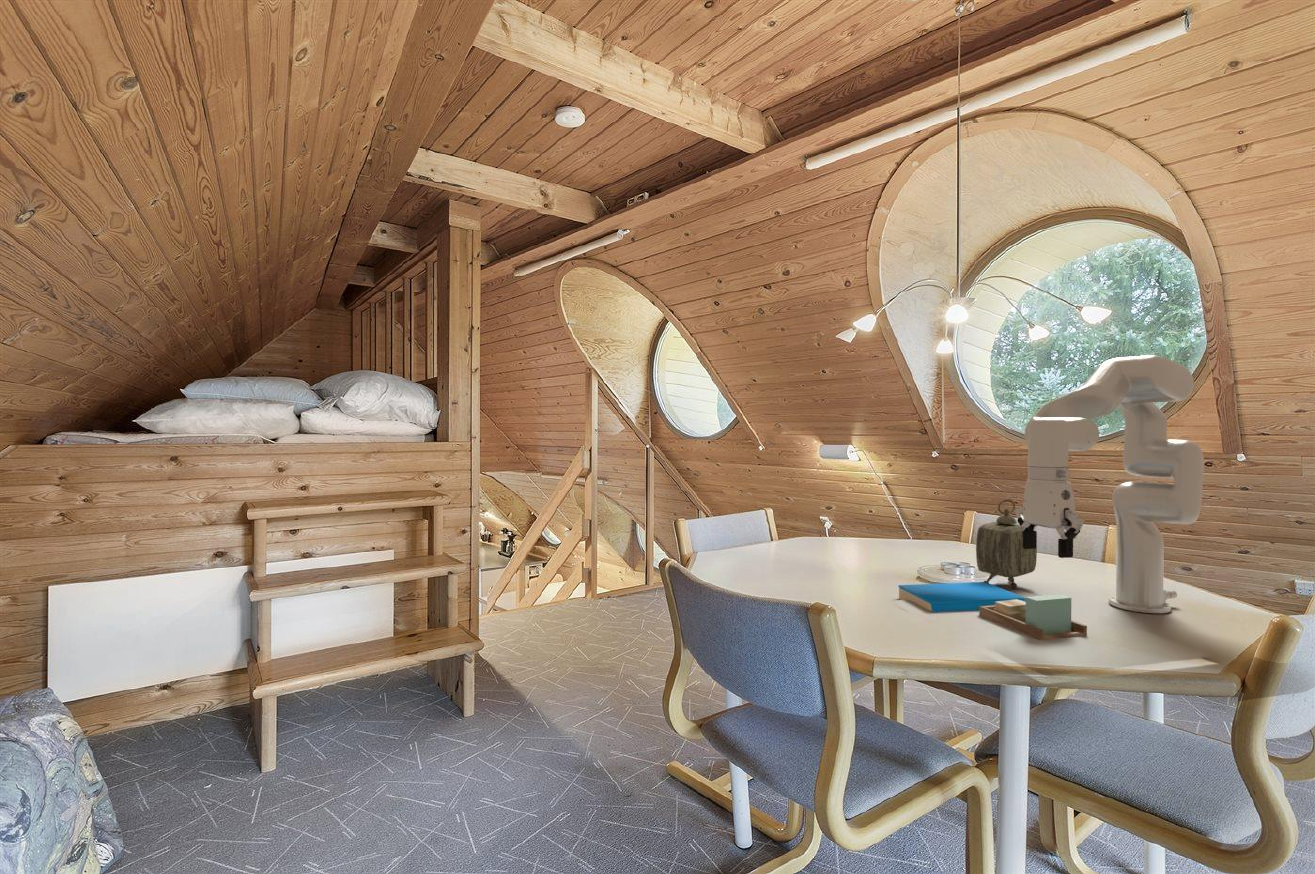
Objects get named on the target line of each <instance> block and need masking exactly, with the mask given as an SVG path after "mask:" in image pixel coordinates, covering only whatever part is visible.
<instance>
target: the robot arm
mask: <svg viewBox="0 0 1315 874" xmlns="http://www.w3.org/2000/svg"><path fill="white" fill-rule="evenodd" d="M1194 387H1195V381H1194V377H1193V374H1192V373H1191V371H1190V370H1189V369H1188V368H1187V367H1186V366H1184V365H1183V364H1180V363H1178V362H1175V361H1174V360H1171V359H1169V358H1166V357H1164V356H1160V355H1152V354H1150V355H1140V356H1139V355H1138V356H1137V355H1136V356H1125V357H1115V358H1111V359H1107V360H1105V361H1104V362H1102V363H1101V364H1099V366H1097V368H1096V369H1095V370H1094V371H1093V373H1092V374H1091V375H1090V377H1088V378H1087V379H1086V381H1085V382H1084V383H1083V384H1082V385H1081V387H1079V388H1077V389H1074V390H1073V391H1071V392H1070V391H1069V393H1066V394H1064V395H1062V396H1059V397H1057V398H1055V399H1053V400H1051V401H1048V402H1047V403H1044V404H1043V405H1042V406H1040V408H1039V409H1038V410H1036V412H1034V414H1033V415H1032V416H1031V418H1030V419H1029V420H1028V422H1027V424H1026V426H1025V429H1024V440H1025V442H1026V444H1027V479H1026V483H1025V487H1024V493H1023V503H1022V504H1023V505H1022V506H1020V507H1018V508H1015V509H1014V512H1015V515H1016V518H1017V519H1016V522H1017V524H1018V525H1020V526H1021V527H1020V529H1021V530H1022V531H1023V548H1024V549H1035V548H1037V547H1038V545H1037V542H1038V541H1037V539H1038V537H1037V536H1038V533H1037V530H1035V529H1036V528H1037V527H1043V528H1048V529H1055V530H1056V532H1057V533H1058V535H1059V537H1060V538H1058V541H1057V556H1058V558H1060V559H1065V558H1067V559H1068V558H1070V559H1071V558H1073V556H1074V540H1075V539H1077V536H1078V535H1079V534H1080V533H1081V529H1082V527H1083V525H1084V523H1085V521H1084V520H1083V519H1082V518H1081V517H1079V515H1077V514H1076V503H1075V494H1074V490H1073V485H1072V483H1071V482H1070V481H1069V478H1070V476H1071V473H1070V471H1069V452H1085V451H1088V450H1090V449H1093V448H1094V447H1095V446H1096V444H1097V443H1098V442H1099V439H1100V430H1099V427H1098V425H1097V424H1096V423H1095V421H1093V420H1095V419H1099V418H1102V417H1105V416H1107V415H1110V414H1112V413H1113V412H1114V411H1115V410H1116V408H1117V407H1118V408H1119V410H1120V411H1121V414H1122V415H1123V418H1124V419H1123V421H1124V437H1123V447H1122V448H1123V450H1122V451H1123V452H1122V466H1123V468H1124V471H1125V472H1126V473H1127V474H1129V475H1131V476H1136V477H1145V478H1146V477H1147V478H1158V479H1159V478H1161V479H1172V480H1173V483H1158V482H1146V481H1127V482H1122V483H1120V484H1118V485H1117V486H1115V488H1114V489H1113V492H1112V496H1111V502H1112V506H1113V511H1114V516H1115V525H1116V558H1115V559H1116V561H1115V562H1116V574H1115V582H1116V585H1115V586H1116V587H1115V595H1112V596H1110V597H1108V603H1109V604H1110V605H1112V606H1113V607H1116V608H1118V609H1122V610H1125V611H1126V610H1127V611H1130V612H1136V613H1137V612H1138V613H1144V614H1166V613H1170V612H1171V611H1172V606H1171V604H1169V603H1167V602H1166V601H1167V600H1168V599H1176V598H1177V597H1178V593H1177V591H1175V590H1166V589H1164V570H1165V569H1164V565H1165V564H1164V559H1165V558H1164V556H1165V554H1164V551H1165V543H1164V542H1165V541H1164V540H1165V539H1164V536H1163V535H1162V533H1161V531H1160V530H1159V528H1158V527H1157V525H1155V523H1154V522H1156V523H1167V524H1174V525H1175V524H1176V525H1191V524H1193V523H1195V522H1196V521H1197V520H1198V519H1199V517H1200V514H1201V508H1202V499H1203V487H1204V485H1203V483H1204V471H1205V457H1204V454H1203V451H1202V448H1201V447H1200V445H1199V444H1197V443H1196V442H1194V441H1192V440H1189V439H1188V440H1187V439H1168V436H1167V435H1168V432H1167V431H1168V419H1167V417H1166V415H1165V414H1164V412H1163V411H1162V409H1160V407H1158V406H1157V404H1155V403H1176V402H1181V401H1184V400H1186V399H1188V398H1189V397H1190V396H1191V394H1192V393H1193V391H1194ZM1037 549H1038V548H1037Z"/></svg>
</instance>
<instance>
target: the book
mask: <svg viewBox="0 0 1315 874" xmlns="http://www.w3.org/2000/svg"><path fill="white" fill-rule="evenodd" d="M898 599H899V600H901V601H902V600H903V601H904V600H908V601H909V600H910V601H911V602H913V603H915V604H916V605H918V606H920V607H923V608H924V609H926V610H927V611H929V612H931V613H939V612H959V611H960V612H963V611H966V612H967V611H979V606H991V605H995V602H997V601H1006V600H1015V599H1018V600H1021V601H1024V602H1026V597H1024V596H1021V595H1019V594H1016V593H1013V592H1012V591H1010V590H1009V591H1008V590H1007V589H1004V588H1001V587H1000V586H997V585H994V584H991V583H990V582H989V583H986V582H984V581H975V582H971V581H970V582H951V583H950V582H947V583H925V584H923V583H922V584H919V583H918V584H899V585H898Z"/></svg>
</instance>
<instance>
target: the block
mask: <svg viewBox="0 0 1315 874" xmlns="http://www.w3.org/2000/svg"><path fill="white" fill-rule="evenodd" d="M1025 598H1026V623H1027V624H1029V625H1032V626H1034V627H1037V628H1039V629H1042V630H1043V635H1044V634H1054V633H1065V632H1071V620H1072V597H1070V596H1067V595H1064V594H1061V593H1059V594H1058V593H1057V594H1047V595H1036V596H1035V595H1034V596H1025Z"/></svg>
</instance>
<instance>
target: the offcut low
mask: <svg viewBox="0 0 1315 874" xmlns="http://www.w3.org/2000/svg"><path fill="white" fill-rule="evenodd" d="M994 611H996V612H998V613H1001V614H1003V615H1006V616H1009V617H1011V618H1014V619H1016V620H1019V621H1024V620H1026V612H1025V613H1017V614H1007V613H1004V612H1002V611H999V610H996V609H994Z"/></svg>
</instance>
